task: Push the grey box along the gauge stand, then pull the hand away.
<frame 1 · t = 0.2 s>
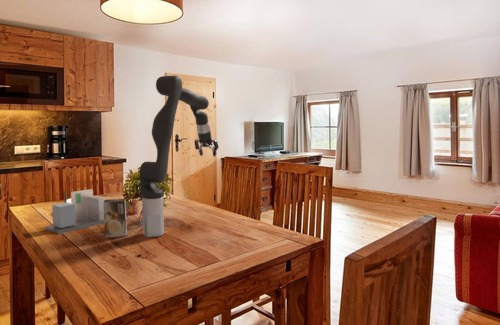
hand: (208, 155, 210), 32 cm above the table, tool tilted 20°, fingers open, 8 cm apart
smoothie: (131, 214, 197), on the table
grey box: (63, 209, 166), point 9 cm above the table, slide at 0.0 cm
gauge stand: (74, 226, 171), on the table
coffee box: (116, 235, 158), on the table
serving bowl: (85, 211, 202), on the table
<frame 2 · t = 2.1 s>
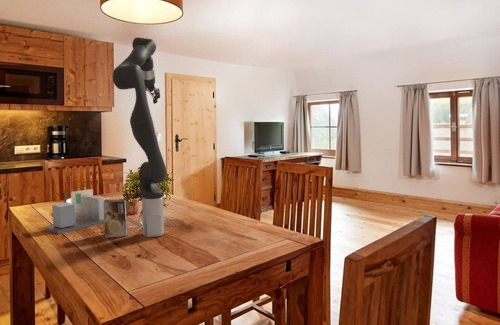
hand: (149, 99, 191), 64 cm above the table, tool tilted 45°, fingers open, 8 cm apart
nothing on the table moved.
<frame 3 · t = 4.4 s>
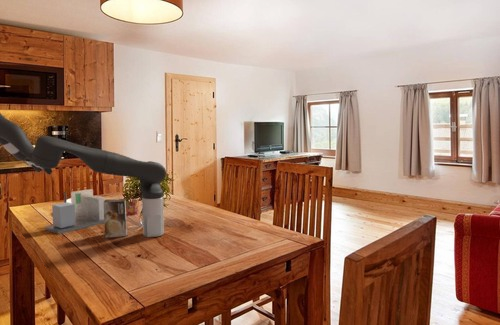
hand: (45, 171, 158), 28 cm above the table, tool tilted 45°, fingers open, 8 cm apart
nothing on the table moved.
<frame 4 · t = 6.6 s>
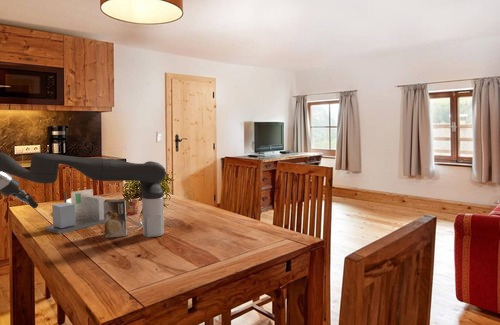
hand: (36, 206, 156), 13 cm above the table, tool tilted 45°, fingers closed
nothing on the table moved.
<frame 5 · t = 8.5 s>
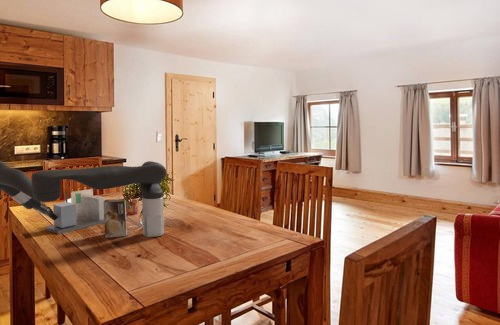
hand: (55, 218, 163), 6 cm above the table, tool tilted 45°, fingers closed
grey box: (64, 209, 166), point 9 cm above the table, slide at 0.5 cm, touching gripper
everything else where it was.
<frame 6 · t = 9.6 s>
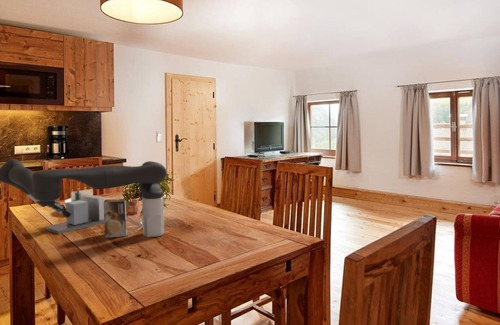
hand: (68, 215, 168), 6 cm above the table, tool tilted 45°, fingers closed
grey box: (76, 207, 171), point 9 cm above the table, slide at 6.5 cm, touching gripper
everything else where it was.
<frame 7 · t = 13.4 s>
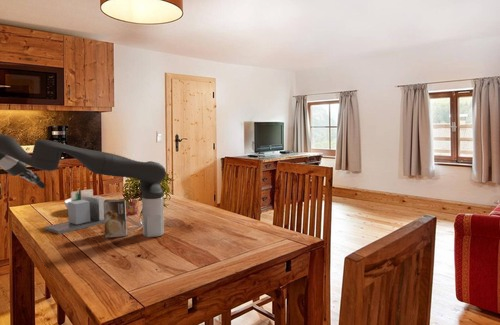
hand: (43, 186, 158), 21 cm above the table, tool tilted 45°, fingers closed
grey box: (78, 206, 172), point 9 cm above the table, slide at 7.4 cm
everything else where it was.
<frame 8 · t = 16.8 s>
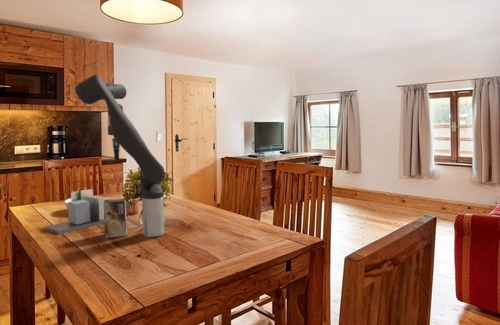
hand: (116, 160, 175), 32 cm above the table, tool pointing down, fingers closed
nothing on the table moved.
at the end: grey box slide at 7.4 cm; smoothie moved 0.2 cm from its start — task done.
